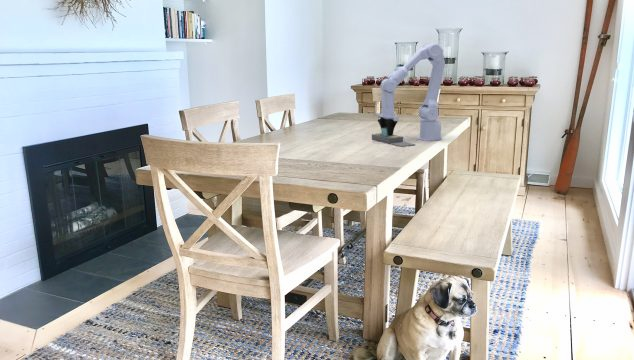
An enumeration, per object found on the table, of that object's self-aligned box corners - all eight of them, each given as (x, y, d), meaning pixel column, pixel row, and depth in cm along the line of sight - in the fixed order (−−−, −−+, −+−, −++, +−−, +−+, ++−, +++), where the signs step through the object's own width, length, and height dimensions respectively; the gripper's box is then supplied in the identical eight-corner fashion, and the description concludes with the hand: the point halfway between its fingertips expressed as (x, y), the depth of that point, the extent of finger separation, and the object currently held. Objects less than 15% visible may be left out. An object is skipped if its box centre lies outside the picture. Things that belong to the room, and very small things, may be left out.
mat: (404, 142, 241) (404, 141, 241) (415, 145, 234) (415, 144, 234) (390, 144, 237) (390, 143, 237) (400, 146, 230) (400, 146, 230)
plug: (388, 139, 249) (388, 126, 247) (393, 141, 245) (393, 127, 244) (381, 140, 247) (381, 126, 245) (386, 141, 243) (386, 127, 242)
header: (385, 138, 254) (385, 132, 253) (403, 142, 242) (403, 136, 241) (371, 139, 250) (371, 133, 250) (388, 143, 238) (389, 137, 237)
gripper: (371, 104, 246) (371, 133, 250) (389, 107, 234) (389, 137, 237) (384, 103, 250) (383, 132, 253) (402, 106, 237) (402, 136, 240)
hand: (387, 134), depth 245 cm, fingers closed on plug, 4 cm apart
